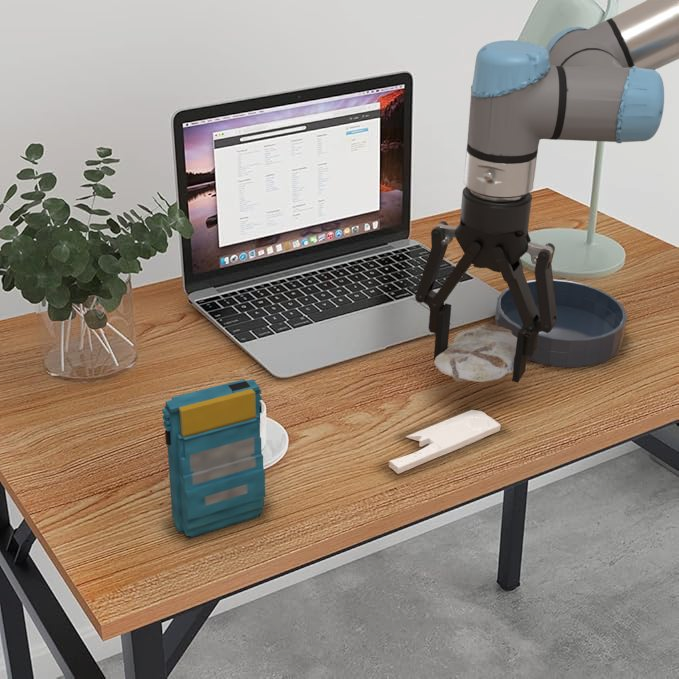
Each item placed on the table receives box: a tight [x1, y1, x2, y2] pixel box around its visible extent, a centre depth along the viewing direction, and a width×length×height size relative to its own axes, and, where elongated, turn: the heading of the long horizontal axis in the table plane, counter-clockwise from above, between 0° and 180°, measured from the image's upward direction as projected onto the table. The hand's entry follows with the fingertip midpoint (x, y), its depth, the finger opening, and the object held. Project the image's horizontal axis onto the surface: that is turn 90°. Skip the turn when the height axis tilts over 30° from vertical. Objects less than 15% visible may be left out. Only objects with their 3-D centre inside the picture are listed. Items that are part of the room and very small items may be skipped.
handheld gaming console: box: [161, 378, 266, 539], centre depth 105 cm, size 10×4×15 cm, turn 118°
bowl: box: [493, 278, 628, 368], centre depth 143 cm, size 17×17×4 cm
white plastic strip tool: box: [388, 409, 502, 475], centre depth 121 cm, size 5×15×1 cm, turn 125°
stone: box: [433, 323, 517, 383], centre depth 126 cm, size 12×9×3 cm
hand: (478, 366), depth 127 cm, fingers closed on stone, 9 cm apart
